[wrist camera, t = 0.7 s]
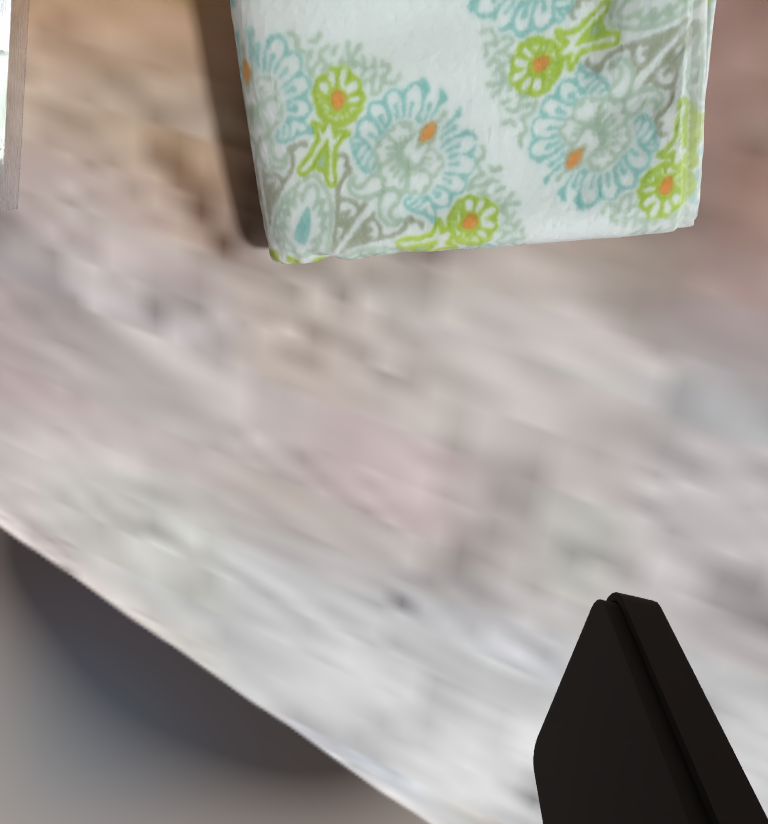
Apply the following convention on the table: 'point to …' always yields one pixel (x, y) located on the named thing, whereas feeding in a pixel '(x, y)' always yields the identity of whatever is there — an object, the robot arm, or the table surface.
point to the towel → (471, 121)
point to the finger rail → (11, 96)
